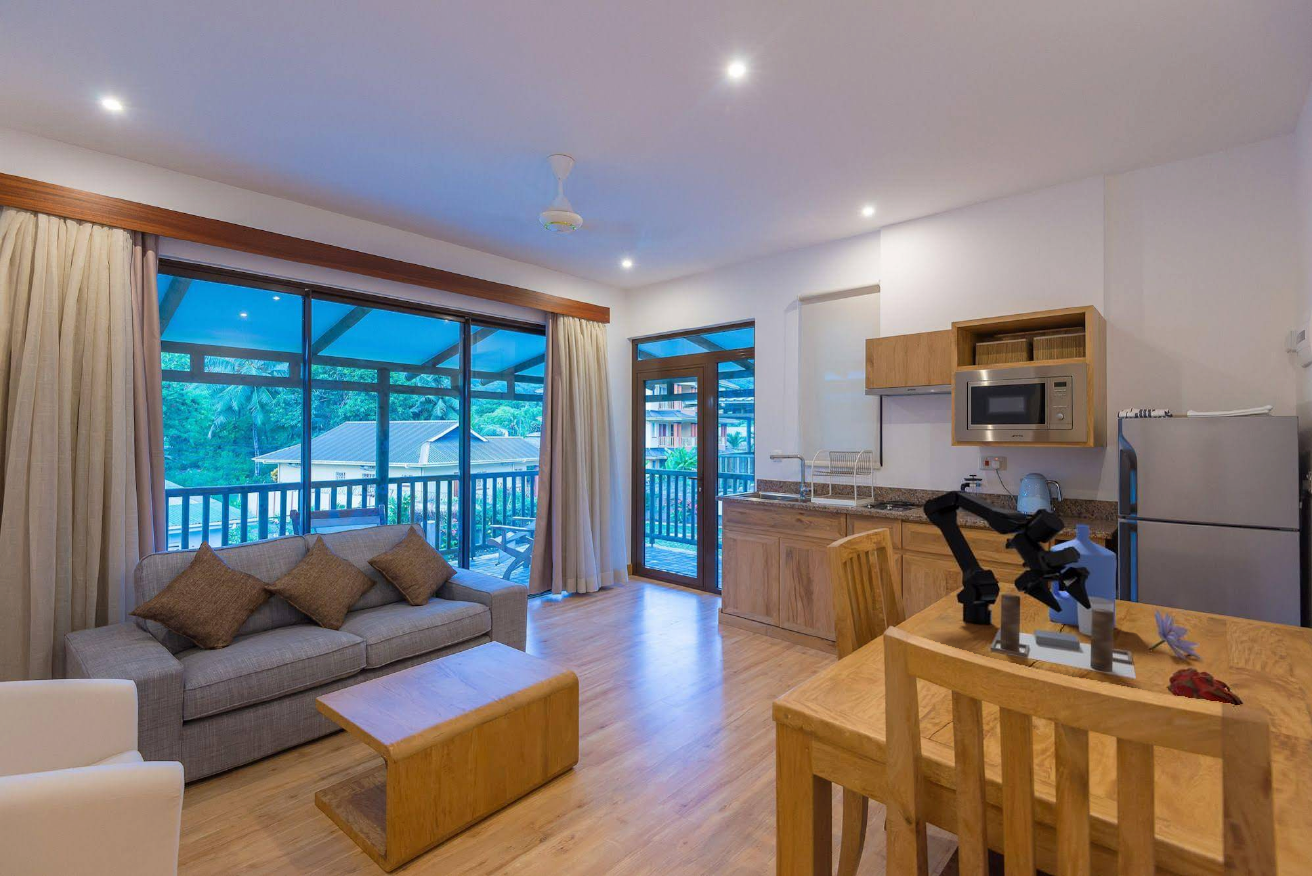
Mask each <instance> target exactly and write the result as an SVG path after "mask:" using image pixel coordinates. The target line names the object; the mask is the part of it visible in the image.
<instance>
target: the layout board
mask: <svg viewBox="0 0 1312 876" xmlns="http://www.w3.org/2000/svg"><path fill="white" fill-rule="evenodd" d="M1000 643H1001V628H998V630H997V633H996V634H995V636H994V638H993V641H992V642H991V645H990V647H989V652H990V651H991V652H994V653H995V652H996V653H999V654H1006V655H1011V656H1017V657H1021V658H1026V659H1031V660H1032V659H1033V660H1037V661H1043V662H1047V663H1052V664H1058V665H1062V666H1068V667H1071V668H1072V667H1073V668H1078V669H1081V670H1082V669H1083V670H1087V671H1094V672H1097V673H1098V672H1099V673H1104V674H1109V675H1114V676H1120V677H1124V678H1130V679H1135V680H1136V678H1137V677H1136V673H1135V672H1136V670H1135V667H1134V663H1133V662H1134V661H1133V656H1132V652H1131V651H1128V650H1123V649H1117V648H1113V668H1112V672H1103V671H1098V670H1095V669H1093V668H1091V667H1090V662H1091V644H1088V643H1082V642H1080V650H1075V649H1069V648H1062V647H1055V646H1048V645H1041V644H1036V642H1035V639H1034V634H1030V633H1024V632H1020V642H1019V652H1016V651H1011V650H1005V649H1001V648H1000Z"/></svg>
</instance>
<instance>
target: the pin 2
mask: <svg viewBox="0 0 1312 876" xmlns="http://www.w3.org/2000/svg"><path fill="white" fill-rule="evenodd" d="M1113 625H1114V612H1112V611H1110V610H1106V609H1099V608H1093V609H1092V617H1091V636H1090V645H1091V662H1090V667H1091V668H1093V669H1095V670H1098V671H1103V672H1112V668H1113V649H1114V629H1113ZM1098 671H1097V672H1098ZM1103 672H1102V673H1103Z"/></svg>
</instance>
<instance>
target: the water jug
mask: <svg viewBox="0 0 1312 876" xmlns="http://www.w3.org/2000/svg"><path fill="white" fill-rule="evenodd" d="M1075 526H1076V530H1075V533H1076V534H1075V535H1076V536H1075V538H1074V539H1072V540H1068V541H1065V542H1062V543H1059V544H1056V545H1053V546H1050V550H1051V551H1053V552H1055V551H1058V550H1063V548H1068V547H1072V546H1074V547H1075V548H1076V549H1077V551H1078V552H1079V553H1080V559H1078V561H1079V562H1077V563H1070V564H1067V565H1065V566H1066V568H1065V569H1064V570H1061V573H1063V572H1064V571H1066V570H1067V569H1068V568H1069V567H1073V566H1083V567H1086V569H1087V570H1088V571H1089V572H1090V575H1089V576H1088V579H1087V580H1086V582H1085V588H1086V592H1087V595H1088V596H1089V597H1097V598H1103V599H1107V600H1110V601H1112V602H1113V603H1114V608H1113V612H1114V625H1113V630H1114V629H1115V628H1116V624H1117V623H1116V622H1117V621H1116V599H1117V589H1116V588H1117V587H1116V584H1117V583H1116V582H1117V581H1116V580H1117V576H1116V575H1117V565H1118V564H1117V554H1116V553H1115V552H1113V551H1112V550H1109V549H1108V548H1106V547H1104V546H1102V545H1100V544H1098V543H1095V542H1094V541H1092V540H1091V539H1090V533H1091V532H1090V527H1091V526H1090V525H1087V524H1075ZM1050 550H1049V551H1050ZM1050 583H1051V588H1050V591H1051V592H1052V594H1053V595H1054V597H1055V599H1056V600H1057V602H1058V603H1059V605H1060V607H1061V609H1062V611H1061V612H1057V611H1055V610H1053V609H1052V608H1050V607H1049V606H1048V617H1049V619H1050V620H1051V621H1052V622H1054V623H1056V624H1064V625H1071V626H1078V627H1079V625H1078V609H1077V600H1075V599H1074V598H1073V597H1072V596H1071V595H1070V594H1068V593H1067V592H1066V591H1065V590H1063V591H1062V590H1059V588H1060V587H1059V584H1060V583H1059V582H1050Z"/></svg>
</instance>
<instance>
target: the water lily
mask: <svg viewBox="0 0 1312 876" xmlns="http://www.w3.org/2000/svg"><path fill="white" fill-rule="evenodd" d="M1154 617H1155V618H1154V619H1155V622H1156V625H1157V628H1158V629H1157V634H1158V636H1159V639H1161V641H1159V642H1157V643H1156V644H1153V646H1151V647H1150V648H1149V650H1150V651H1151V650H1152V651H1154V650H1156V648H1158V647H1159V646H1160V645H1162V644H1164V643H1166V644H1167V645H1168V647H1169V648H1170V650H1172V651H1173V652H1174V654H1175V655H1176V656H1178V657H1179V658H1180V659H1187V657H1186V656H1185V655H1184V654H1183V653H1185V654H1188V655H1190V656H1192V657H1194V658H1197V659H1200V660H1201V661H1202V660H1203V661H1204V660H1205V659H1204V658H1203V657H1201V656H1200V655H1199V654H1197V653H1195V652H1196V650H1195V649H1194V648H1193V647H1200V644H1199V643H1196V642H1194V641H1190V640H1185V639H1184V638H1183V637H1184V636H1186V635H1187V634H1188V628H1185V627H1181V626H1179V625H1174V623H1175V622H1174V616H1171V617H1170V615H1169V612H1165V614H1164V618H1163V616H1162V614H1161V612H1160V611H1159V609H1157V608H1155V613H1154ZM1152 651H1151V652H1152ZM1181 651H1182V652H1183V653H1182V652H1181Z"/></svg>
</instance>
